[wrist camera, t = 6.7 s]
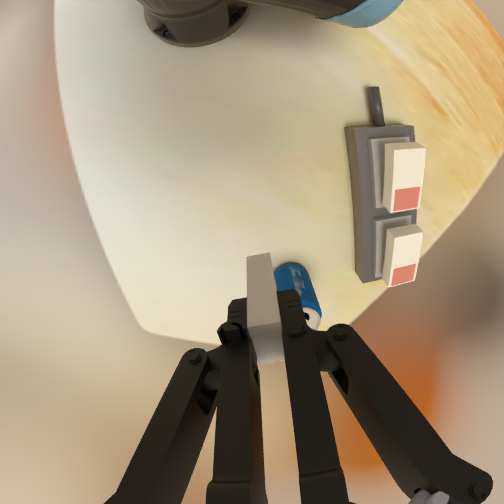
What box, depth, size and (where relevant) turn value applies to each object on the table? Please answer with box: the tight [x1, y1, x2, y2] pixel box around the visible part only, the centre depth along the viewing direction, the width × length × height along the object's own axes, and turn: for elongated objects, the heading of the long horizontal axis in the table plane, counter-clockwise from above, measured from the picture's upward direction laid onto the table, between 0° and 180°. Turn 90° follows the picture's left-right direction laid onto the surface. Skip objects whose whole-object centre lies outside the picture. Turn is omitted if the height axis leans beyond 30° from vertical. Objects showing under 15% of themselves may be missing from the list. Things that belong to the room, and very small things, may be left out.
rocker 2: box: [382, 224, 423, 287], centre depth 36 cm, size 9×5×2 cm, turn 11°
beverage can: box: [274, 263, 322, 330], centre depth 42 cm, size 6×6×12 cm
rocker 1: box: [383, 142, 426, 213], centre depth 31 cm, size 9×5×2 cm, turn 11°
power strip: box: [345, 87, 417, 283], centre depth 37 cm, size 31×10×5 cm, turn 11°
